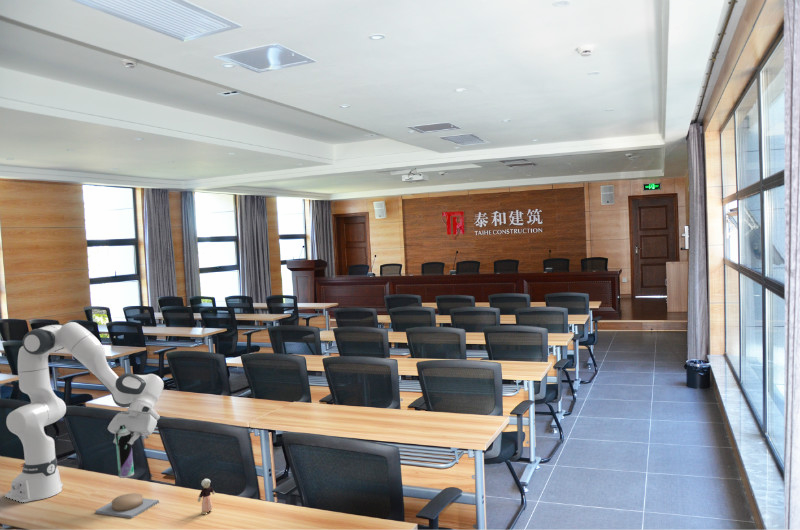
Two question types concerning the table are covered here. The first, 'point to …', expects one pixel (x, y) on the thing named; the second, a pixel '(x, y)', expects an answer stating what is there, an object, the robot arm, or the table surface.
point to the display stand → (127, 505)
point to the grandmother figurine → (206, 496)
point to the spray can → (124, 452)
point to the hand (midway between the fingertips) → (122, 443)
